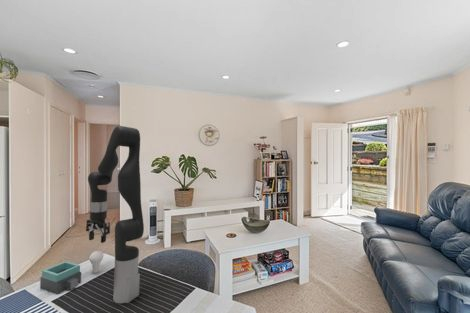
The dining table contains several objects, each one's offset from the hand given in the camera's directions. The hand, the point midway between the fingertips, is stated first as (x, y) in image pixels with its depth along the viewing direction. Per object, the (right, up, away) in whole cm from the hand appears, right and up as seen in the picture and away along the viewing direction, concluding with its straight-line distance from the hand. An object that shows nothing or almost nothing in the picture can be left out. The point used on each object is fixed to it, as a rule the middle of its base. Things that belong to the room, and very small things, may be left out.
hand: (97, 241), depth 112 cm
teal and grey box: (-8, -16, -13) cm, 22 cm away
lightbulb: (0, -17, 0) cm, 17 cm away
